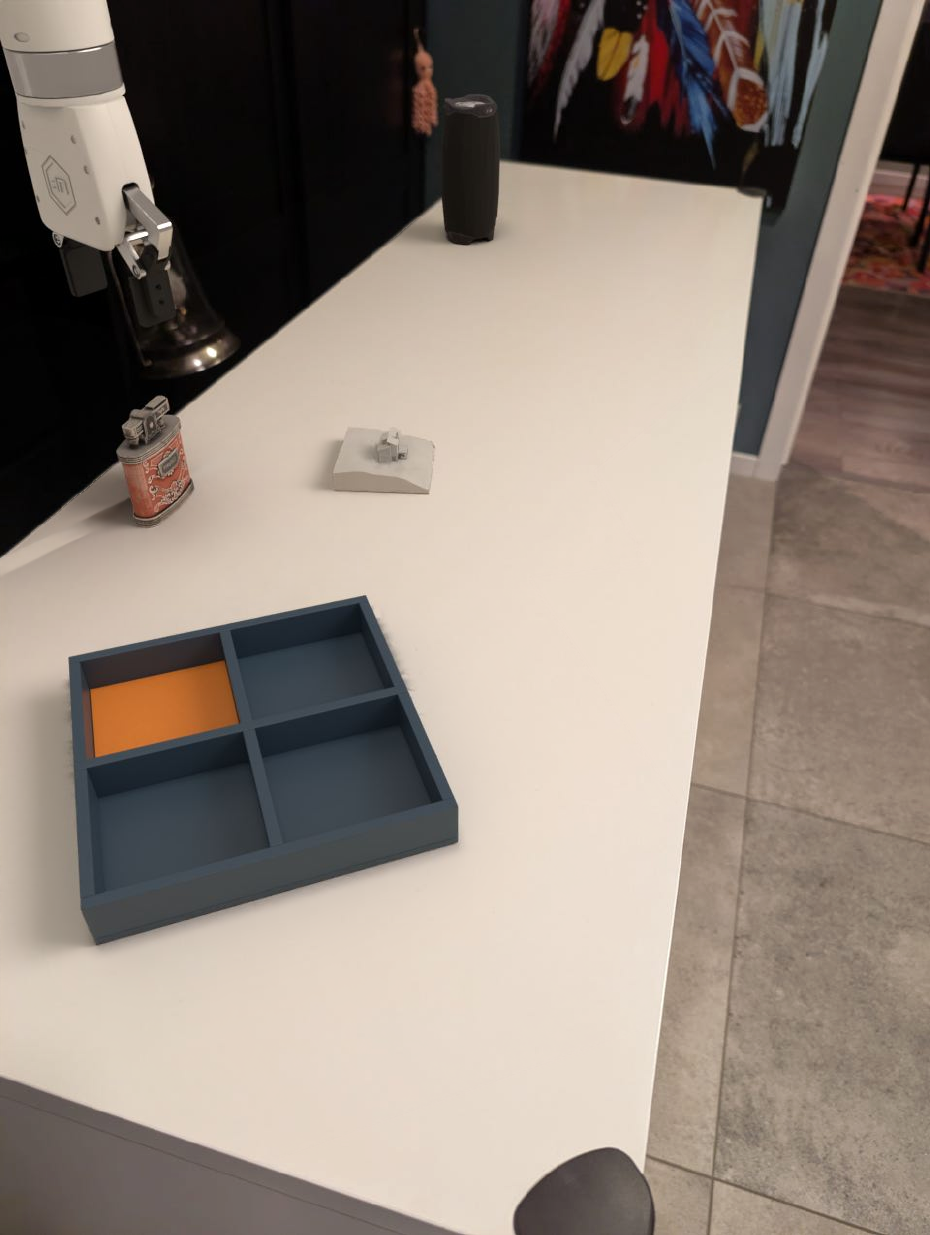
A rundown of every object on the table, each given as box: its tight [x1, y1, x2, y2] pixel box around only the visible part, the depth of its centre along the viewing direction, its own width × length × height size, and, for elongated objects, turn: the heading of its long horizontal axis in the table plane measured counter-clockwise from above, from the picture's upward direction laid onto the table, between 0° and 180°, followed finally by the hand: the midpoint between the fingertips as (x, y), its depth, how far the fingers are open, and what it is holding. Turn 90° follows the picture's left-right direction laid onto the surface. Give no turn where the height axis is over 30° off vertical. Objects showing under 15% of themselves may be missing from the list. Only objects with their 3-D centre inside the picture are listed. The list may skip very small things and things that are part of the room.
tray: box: [67, 594, 459, 946], centre depth 66 cm, size 22×22×4 cm
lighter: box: [116, 395, 195, 528], centre depth 89 cm, size 8×3×10 cm, turn 162°
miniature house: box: [331, 426, 436, 494], centre depth 96 cm, size 12×11×4 cm
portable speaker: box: [440, 93, 501, 246], centre depth 145 cm, size 9×9×20 cm
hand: (123, 306), depth 79 cm, fingers open, 9 cm apart
